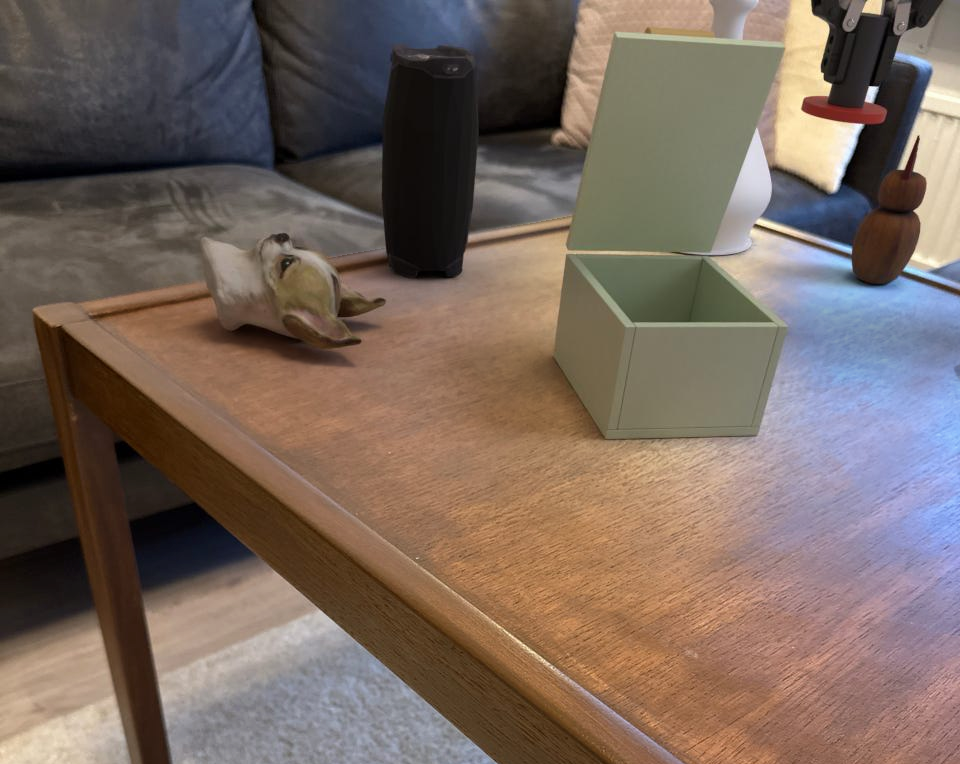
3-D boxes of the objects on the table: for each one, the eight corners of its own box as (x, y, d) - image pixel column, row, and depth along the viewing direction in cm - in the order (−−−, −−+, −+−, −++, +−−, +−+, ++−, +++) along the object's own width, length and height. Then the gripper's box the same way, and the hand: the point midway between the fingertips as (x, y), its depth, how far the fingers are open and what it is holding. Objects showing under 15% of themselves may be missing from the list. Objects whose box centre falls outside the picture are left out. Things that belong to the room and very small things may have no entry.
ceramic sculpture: (222, 199, 84) (393, 232, 84) (225, 298, 90) (385, 329, 89) (175, 237, 76) (363, 273, 76) (181, 343, 82) (357, 377, 81)
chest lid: (786, 47, 69) (763, 13, 72) (617, 36, 67) (599, 2, 69) (710, 252, 83) (693, 217, 85) (567, 250, 80) (554, 214, 83)
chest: (758, 435, 77) (789, 326, 71) (605, 439, 74) (625, 326, 69) (686, 354, 89) (708, 255, 83) (552, 356, 86) (565, 253, 81)
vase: (594, 212, 122) (629, -29, 107) (721, 214, 127) (772, -18, 111) (645, 258, 109) (692, -8, 94) (784, 258, 114) (852, 3, 98)
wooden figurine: (880, 293, 107) (930, 141, 97) (834, 276, 110) (879, 128, 100) (911, 282, 110) (963, 136, 101) (866, 267, 113) (912, 123, 104)
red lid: (825, 103, 88) (851, 7, 83) (898, 119, 84) (929, 20, 80) (785, 109, 84) (810, 9, 79) (860, 127, 80) (890, 23, 76)
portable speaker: (364, 266, 100) (364, 45, 88) (422, 248, 106) (430, 38, 94) (429, 289, 97) (439, 61, 84) (485, 268, 103) (502, 53, 91)
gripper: (863, -195, 68) (793, 88, 78) (1040, -173, 70) (949, 97, 81) (815, -193, 73) (756, 70, 84) (980, -173, 76) (903, 80, 87)
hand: (851, 82), depth 83 cm, fingers closed on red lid, 3 cm apart
